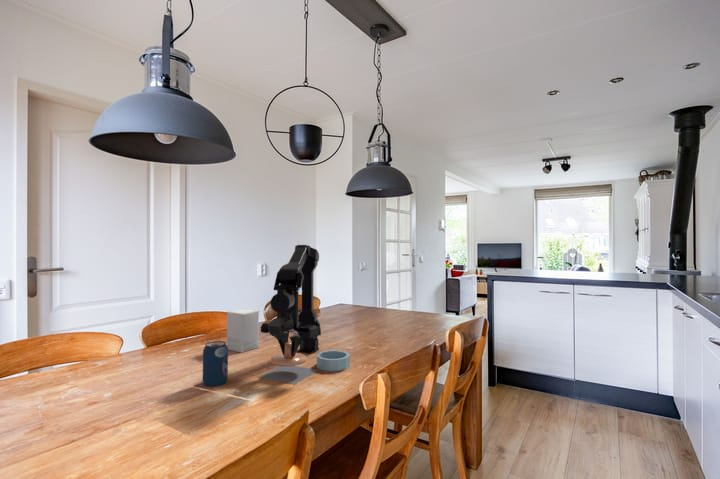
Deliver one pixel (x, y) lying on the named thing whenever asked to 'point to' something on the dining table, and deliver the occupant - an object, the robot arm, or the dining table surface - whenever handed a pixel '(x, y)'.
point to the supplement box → (242, 330)
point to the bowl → (333, 360)
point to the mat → (288, 374)
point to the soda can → (215, 363)
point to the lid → (288, 358)
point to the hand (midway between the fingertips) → (288, 356)
